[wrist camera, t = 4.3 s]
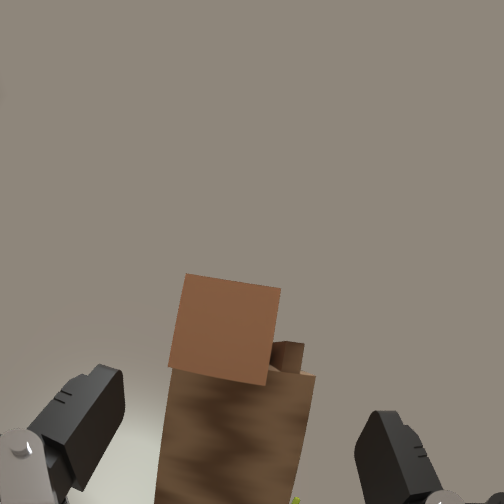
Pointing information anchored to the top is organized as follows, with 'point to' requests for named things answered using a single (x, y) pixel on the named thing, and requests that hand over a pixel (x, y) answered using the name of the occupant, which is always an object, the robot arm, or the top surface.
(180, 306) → the bar
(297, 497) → the carrot
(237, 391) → the stand
